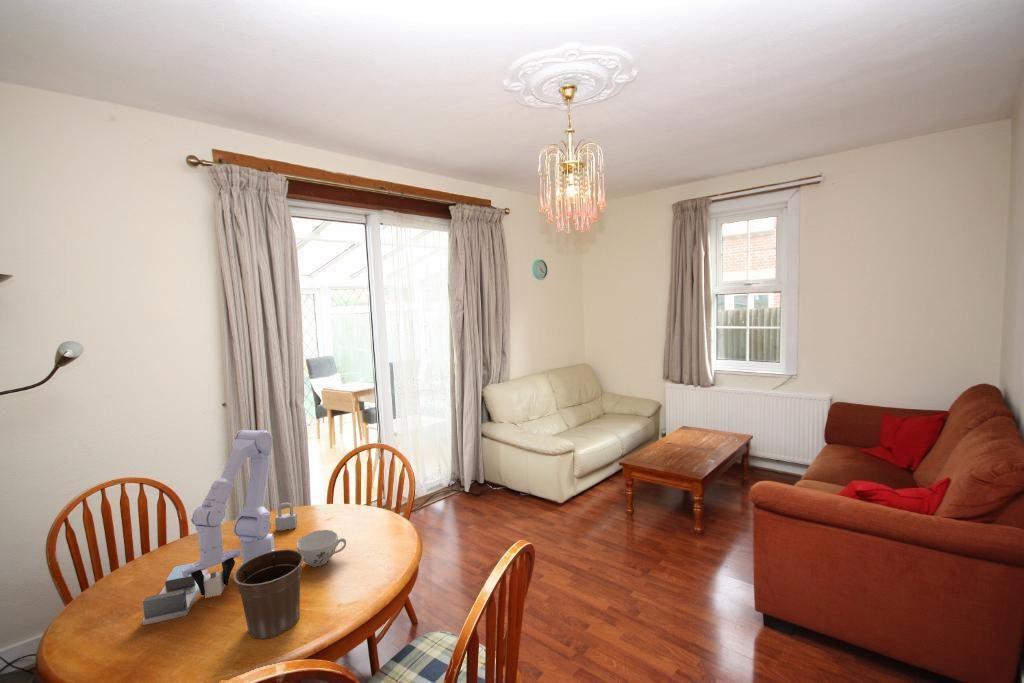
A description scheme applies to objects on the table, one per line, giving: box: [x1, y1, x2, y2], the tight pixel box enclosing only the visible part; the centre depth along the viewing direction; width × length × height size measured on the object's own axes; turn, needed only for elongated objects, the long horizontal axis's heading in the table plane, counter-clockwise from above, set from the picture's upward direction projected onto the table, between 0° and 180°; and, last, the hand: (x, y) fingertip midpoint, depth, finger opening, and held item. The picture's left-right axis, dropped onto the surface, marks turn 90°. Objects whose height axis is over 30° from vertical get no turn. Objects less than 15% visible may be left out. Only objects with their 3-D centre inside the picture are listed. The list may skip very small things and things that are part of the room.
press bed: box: [142, 568, 209, 626], centre depth 132 cm, size 10×21×6 cm, turn 20°
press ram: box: [164, 562, 203, 591], centre depth 138 cm, size 7×8×3 cm
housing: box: [204, 570, 225, 599], centre depth 134 cm, size 4×4×6 cm
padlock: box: [274, 502, 298, 531], centre depth 173 cm, size 7×4×10 cm, turn 99°
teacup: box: [295, 529, 347, 568], centre depth 149 cm, size 15×12×8 cm
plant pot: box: [233, 548, 304, 640], centre depth 120 cm, size 16×16×16 cm
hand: (214, 589), depth 134 cm, fingers closed on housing, 5 cm apart
